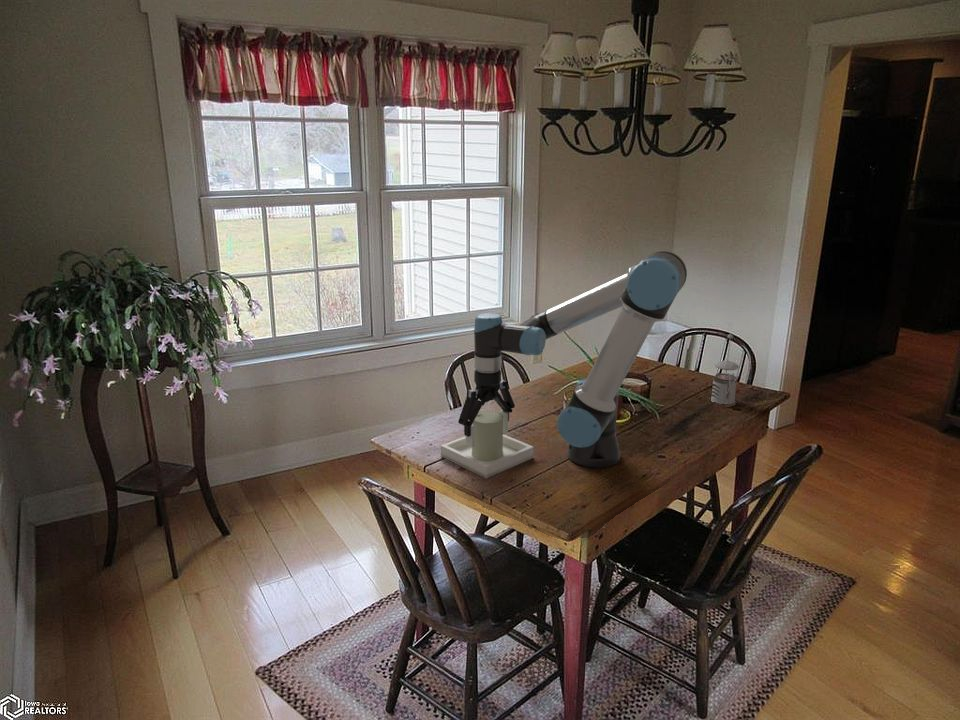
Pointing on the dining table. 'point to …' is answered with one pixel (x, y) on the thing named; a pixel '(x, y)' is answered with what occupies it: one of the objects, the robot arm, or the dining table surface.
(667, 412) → the dining table surface
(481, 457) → the can
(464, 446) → the tray
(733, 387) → the french press
